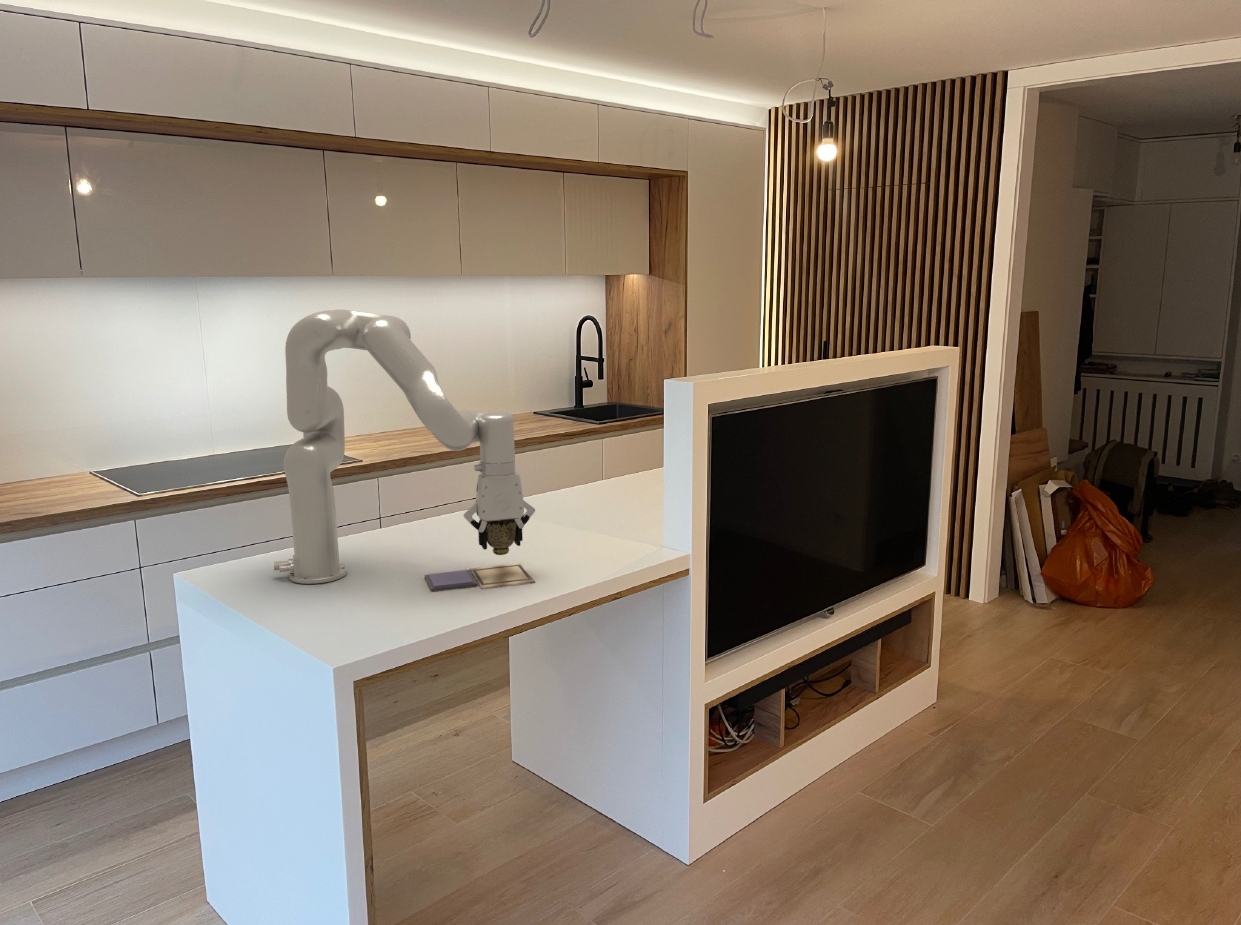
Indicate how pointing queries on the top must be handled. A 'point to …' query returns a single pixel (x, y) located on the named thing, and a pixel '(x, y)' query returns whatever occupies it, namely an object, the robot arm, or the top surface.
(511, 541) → the cup
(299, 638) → the top surface
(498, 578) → the board
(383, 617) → the top surface
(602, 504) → the top surface
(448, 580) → the ink pad
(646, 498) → the top surface
